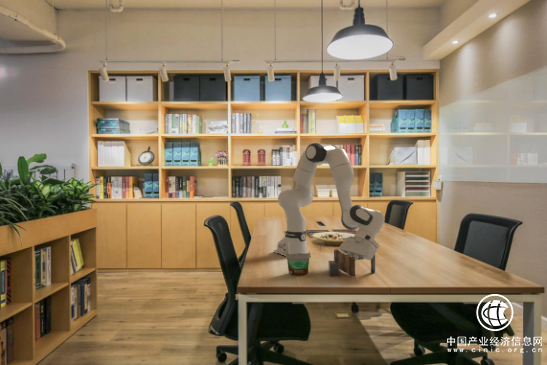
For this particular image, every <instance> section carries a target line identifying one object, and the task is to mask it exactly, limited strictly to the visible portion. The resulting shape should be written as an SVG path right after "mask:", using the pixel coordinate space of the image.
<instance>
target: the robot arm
mask: <svg viewBox="0 0 547 365" xmlns="http://www.w3.org/2000/svg"><path fill="white" fill-rule="evenodd" d="M319 164H320V165H323V164H324V165H325V164H326V165H329V168H330V172H331V175H332V178H333V182H334V185H335V189H336V193H337V197H338V201H339V202H338V203H339V206H340V210H341V217H340V221H341V224H342V226H343V227H344V228H345V229H347V230H351V231H353V230H357V231H356V232H355V234H354V236H349V237H347V238H345V240H344V241H343V242H342V243H341V244H340V246H339V249H338V250H339V251H340V252H341V253H344V254H346V255H348V256H351V257H355V262H356V261H357V260H359V258H360V259H365V260H367V261H371V259H372V258H373V256H374V255H375V256H376V253H377V252H378V251H377V249H379V248H380V244H379V243H378V242H377V240H376V236H377V235H378V234H379V233H380V232H381V229H382V228H383V226H384V224H385V220H386V219H385V216H384V214H383V213H382V212H381V211H380V210H378V209H372V208H371V209H370V208H367V207H365V206H363V205H360V204H355V205H353V202H352V201H353V200H352V197H351V186H352V184H353V181H354V179H355V172H354V168H353V165H352V162H351V159H350V158H349V155H348V153H347V152H346V150H345V149H344V148H341V147H338V146H336V145H333V144H329V143H320V142H314V143H309V145H307V147H306V148H305V150H304V151H303V152H302V154H301V156H300V157H299V160H298V162H297V166H296V168H295V172H294V174H293V180H294V182H295V187H294V189H286V190H283V191H281V192H280V193H279V194H278V196H277V202H278V204H279V206H280V207H281V208H282V209H283V211H284V214H285V218H286V230H284V237H283V238H281V239H280V240H279V241H278V243H277V246H276V249H274V250H273V251H274V252H276V253H275V254H277V253H279V254H281V255H280V256H282V255H284V256H286V254H287V253H288V254H296V253H302V254H306V253H309V249H308V247H307V246H308V243H307V230H306V217H305V216H304V214H302V211H301V208H305V207H307V206H309V205H311V204H312V202H313V200H314V197H313V194H312V191H311V190H312V181H313V179H314V176H315V174H316V171H317V167H318V165H319ZM274 252H273V253H274ZM279 254H278V255H279ZM284 256H283V257H284Z"/></svg>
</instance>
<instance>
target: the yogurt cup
mask: <svg viewBox="0 0 547 365" xmlns="http://www.w3.org/2000/svg"><path fill="white" fill-rule="evenodd" d="M311 256H312V255H311V252H310V251H308V253H306V254H302V253H296V254H288V253H287V254H286V257H285V258H286V262H287V270H288V274H289V275H290V274H291V275H290V276H295V277H303V276H307V275H308V274H309V267H310V265H309V264H310V258H311Z"/></svg>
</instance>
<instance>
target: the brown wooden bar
mask: <svg viewBox="0 0 547 365" xmlns="http://www.w3.org/2000/svg"><path fill="white" fill-rule="evenodd" d="M336 260H337V262H338V263H339V271H341V272H343V273H346V274H347V275H349V277H351V278H352V277H356V261H355V257H354V256H348V255H347V254H346V253H343V252H342V251H341V250H339V251H336Z"/></svg>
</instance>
